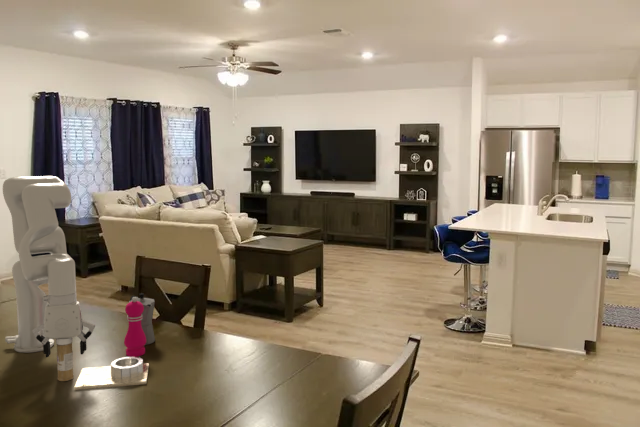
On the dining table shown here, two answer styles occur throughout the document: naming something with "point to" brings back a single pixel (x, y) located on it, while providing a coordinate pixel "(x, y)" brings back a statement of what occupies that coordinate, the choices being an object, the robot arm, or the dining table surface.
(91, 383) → the white ring holder board
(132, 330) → the pepper mill
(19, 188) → the robot arm
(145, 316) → the coffeepot
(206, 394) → the dining table surface
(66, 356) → the sprinkles bottle
